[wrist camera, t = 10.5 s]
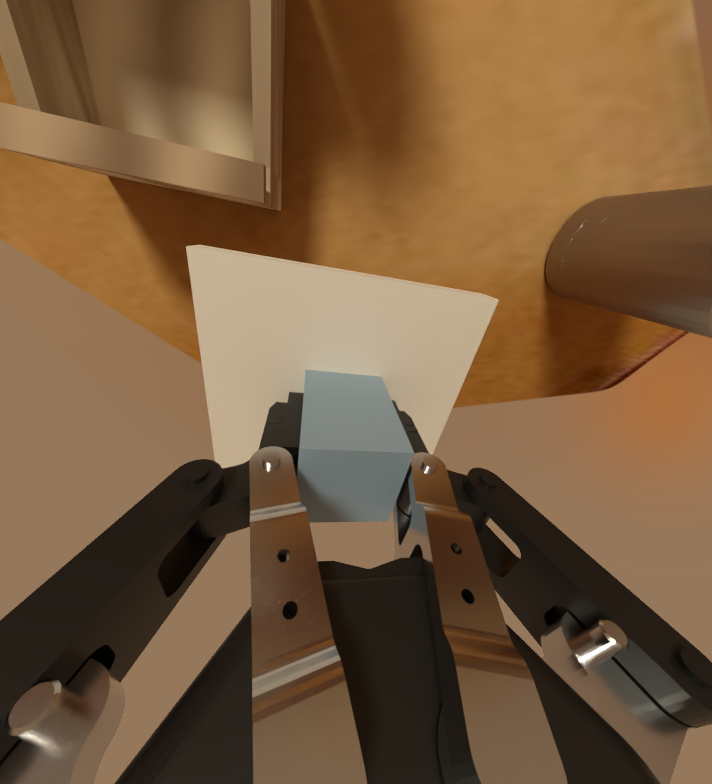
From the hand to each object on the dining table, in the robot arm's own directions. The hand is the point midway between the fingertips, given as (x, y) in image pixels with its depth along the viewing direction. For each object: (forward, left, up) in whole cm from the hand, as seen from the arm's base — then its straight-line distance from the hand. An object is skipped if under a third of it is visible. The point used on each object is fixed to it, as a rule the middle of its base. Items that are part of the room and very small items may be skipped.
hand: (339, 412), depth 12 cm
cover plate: (0, 0, -2) cm, 2 cm away
